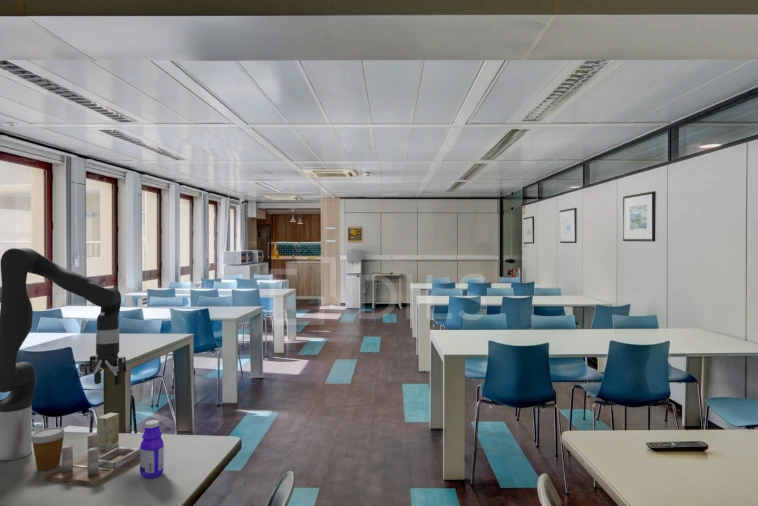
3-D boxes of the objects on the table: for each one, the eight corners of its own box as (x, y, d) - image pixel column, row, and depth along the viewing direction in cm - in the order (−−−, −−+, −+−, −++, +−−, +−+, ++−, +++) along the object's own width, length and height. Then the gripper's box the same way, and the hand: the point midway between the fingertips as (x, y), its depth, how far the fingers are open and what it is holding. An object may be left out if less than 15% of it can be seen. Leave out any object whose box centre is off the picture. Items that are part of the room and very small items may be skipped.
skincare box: (106, 452, 164) (106, 418, 164) (96, 451, 165) (95, 418, 165) (119, 444, 171) (119, 412, 171) (109, 444, 171) (109, 412, 172)
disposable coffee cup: (71, 463, 155) (71, 429, 155) (41, 476, 147) (41, 439, 147) (55, 458, 159) (54, 424, 159) (24, 470, 151) (24, 434, 151)
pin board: (43, 480, 144) (43, 450, 144) (94, 453, 163) (94, 427, 163) (95, 486, 139) (95, 456, 140) (142, 458, 159) (142, 431, 159)
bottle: (167, 472, 148) (167, 420, 148) (153, 480, 143) (153, 426, 143) (150, 469, 151) (150, 417, 151) (136, 477, 145) (136, 423, 145)
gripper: (83, 342, 166) (83, 386, 166) (116, 343, 163) (115, 388, 163) (100, 338, 173) (99, 380, 173) (131, 340, 170) (131, 382, 170)
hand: (107, 384), depth 168 cm, fingers open, 8 cm apart
